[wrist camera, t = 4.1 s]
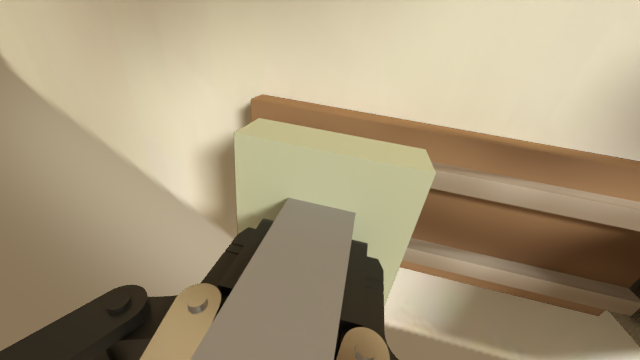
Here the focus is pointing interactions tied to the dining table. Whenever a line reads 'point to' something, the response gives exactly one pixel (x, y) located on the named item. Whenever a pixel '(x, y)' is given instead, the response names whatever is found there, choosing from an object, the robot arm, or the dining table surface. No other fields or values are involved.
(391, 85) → the dining table surface
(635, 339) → the cabinet
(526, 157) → the rail track
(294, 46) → the dining table surface
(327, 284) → the carriage
